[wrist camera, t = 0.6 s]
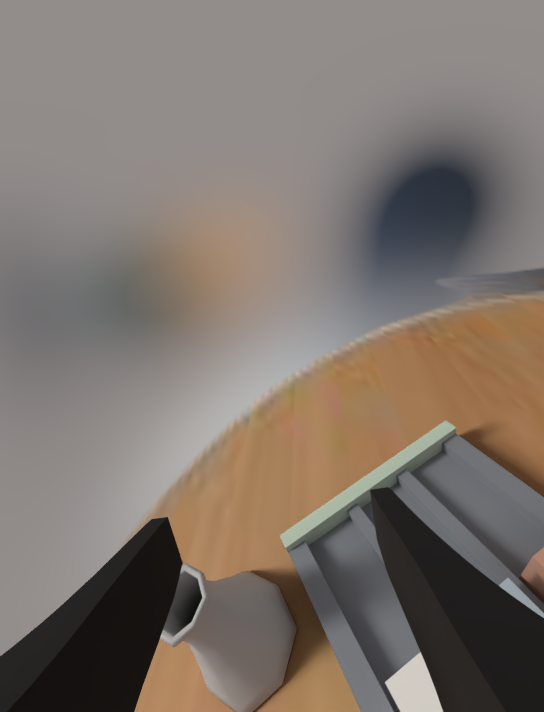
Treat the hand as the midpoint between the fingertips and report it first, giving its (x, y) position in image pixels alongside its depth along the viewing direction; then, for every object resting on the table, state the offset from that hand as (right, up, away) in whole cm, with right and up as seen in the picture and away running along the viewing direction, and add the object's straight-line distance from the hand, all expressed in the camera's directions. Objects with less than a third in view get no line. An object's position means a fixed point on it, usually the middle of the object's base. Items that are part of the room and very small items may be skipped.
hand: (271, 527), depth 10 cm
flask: (-2, -15, +11) cm, 18 cm away
